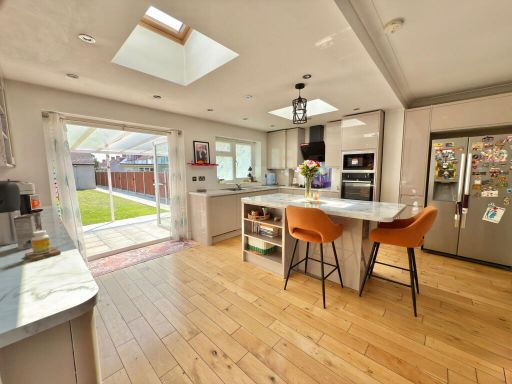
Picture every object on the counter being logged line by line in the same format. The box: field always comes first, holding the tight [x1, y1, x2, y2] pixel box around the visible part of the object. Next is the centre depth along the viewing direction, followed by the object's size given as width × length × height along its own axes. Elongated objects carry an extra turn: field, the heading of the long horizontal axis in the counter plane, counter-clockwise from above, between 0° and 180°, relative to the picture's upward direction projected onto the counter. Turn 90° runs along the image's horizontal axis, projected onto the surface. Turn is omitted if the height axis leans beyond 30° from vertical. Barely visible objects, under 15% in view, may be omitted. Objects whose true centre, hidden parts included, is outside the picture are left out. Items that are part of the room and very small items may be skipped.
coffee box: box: [14, 213, 43, 250], centre depth 106 cm, size 9×6×16 cm
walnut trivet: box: [24, 246, 62, 262], centre depth 93 cm, size 11×9×2 cm
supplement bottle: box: [32, 229, 51, 255], centre depth 92 cm, size 5×5×10 cm
